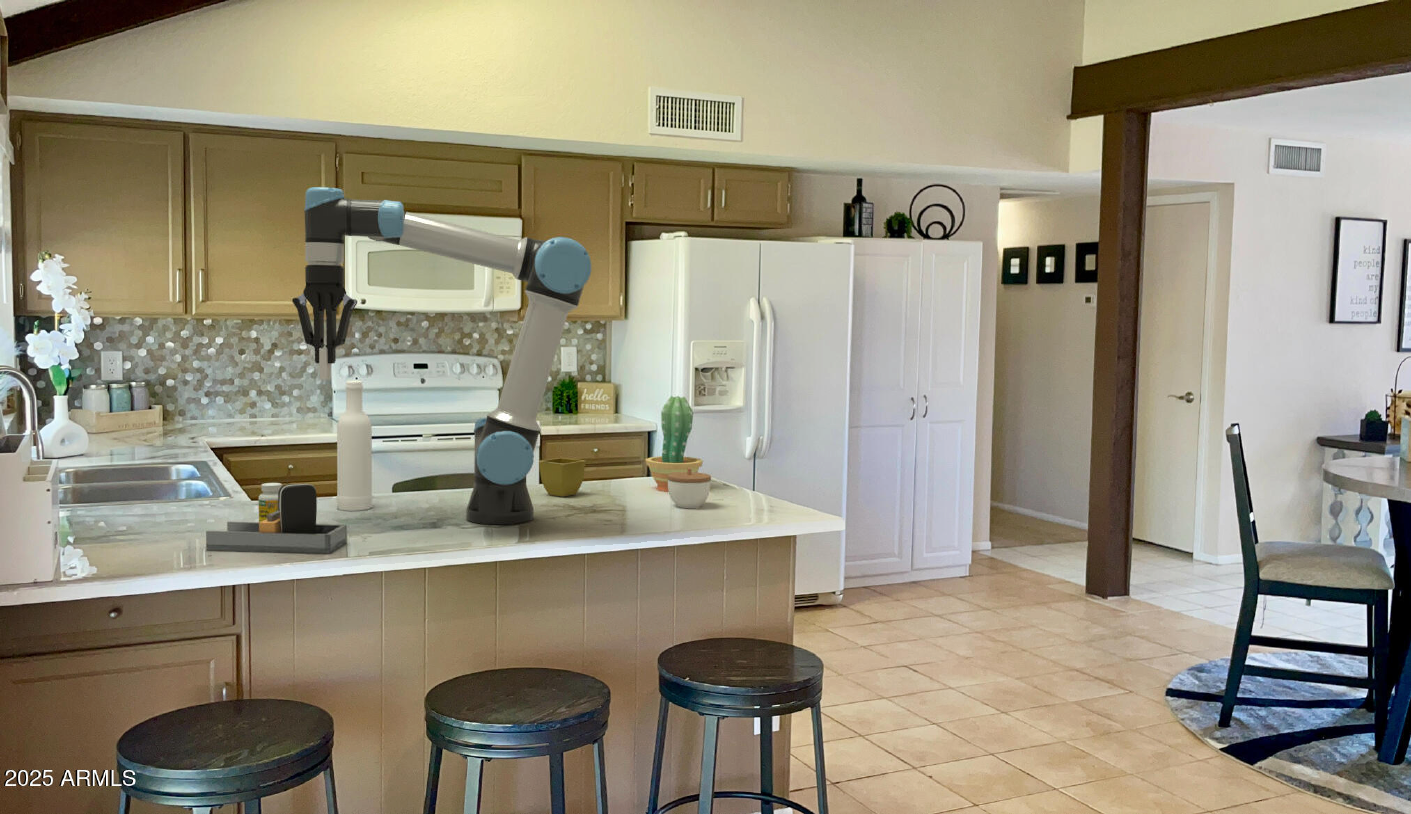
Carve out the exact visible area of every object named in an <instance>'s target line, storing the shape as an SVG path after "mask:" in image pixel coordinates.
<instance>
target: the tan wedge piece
mask: <svg viewBox="0 0 1411 814" xmlns="http://www.w3.org/2000/svg"><path fill="white" fill-rule="evenodd" d="M259 532H269V533H280V511H276V512H274V513H271V514H269V515H267V519H266V520H264V521H262V522H260V523H259Z"/></svg>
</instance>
